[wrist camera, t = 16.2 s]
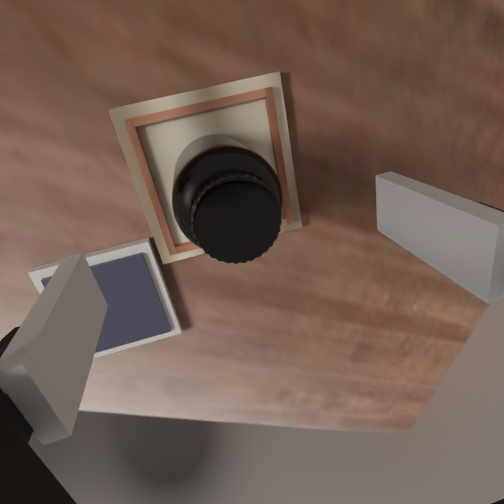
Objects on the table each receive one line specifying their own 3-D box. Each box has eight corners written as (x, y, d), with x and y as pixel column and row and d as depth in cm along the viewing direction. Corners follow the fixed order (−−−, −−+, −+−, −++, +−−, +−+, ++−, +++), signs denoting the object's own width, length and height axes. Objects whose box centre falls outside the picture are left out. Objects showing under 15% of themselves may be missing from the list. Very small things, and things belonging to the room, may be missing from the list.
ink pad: (81, 355, 34) (77, 365, 33) (32, 267, 29) (26, 275, 28) (181, 327, 35) (181, 335, 34) (149, 237, 30) (147, 243, 29)
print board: (163, 260, 32) (162, 267, 30) (109, 109, 26) (106, 109, 25) (299, 224, 33) (304, 229, 31) (276, 71, 27) (281, 70, 26)
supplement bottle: (271, 157, 29) (327, 194, 18) (233, 228, 31) (263, 299, 20) (195, 115, 26) (208, 128, 16) (159, 194, 28) (148, 255, 18)
